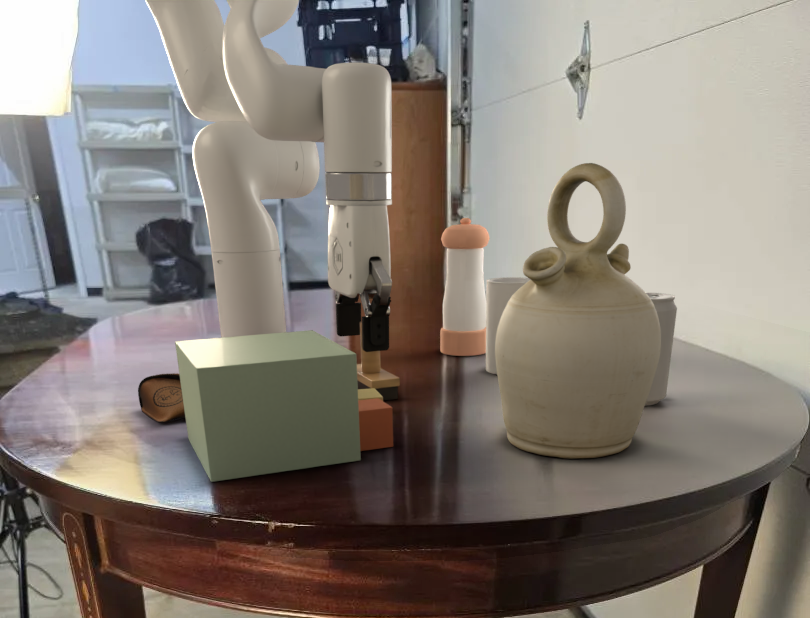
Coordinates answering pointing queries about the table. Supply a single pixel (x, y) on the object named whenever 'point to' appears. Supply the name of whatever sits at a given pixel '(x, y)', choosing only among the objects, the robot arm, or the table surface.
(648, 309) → the jug
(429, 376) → the table surface
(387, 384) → the brush
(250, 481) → the table surface
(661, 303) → the beverage can
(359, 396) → the mustard yellow block
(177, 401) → the sunglasses case
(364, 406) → the terracotta block
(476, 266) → the salt shaker
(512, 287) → the mug
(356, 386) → the green box
